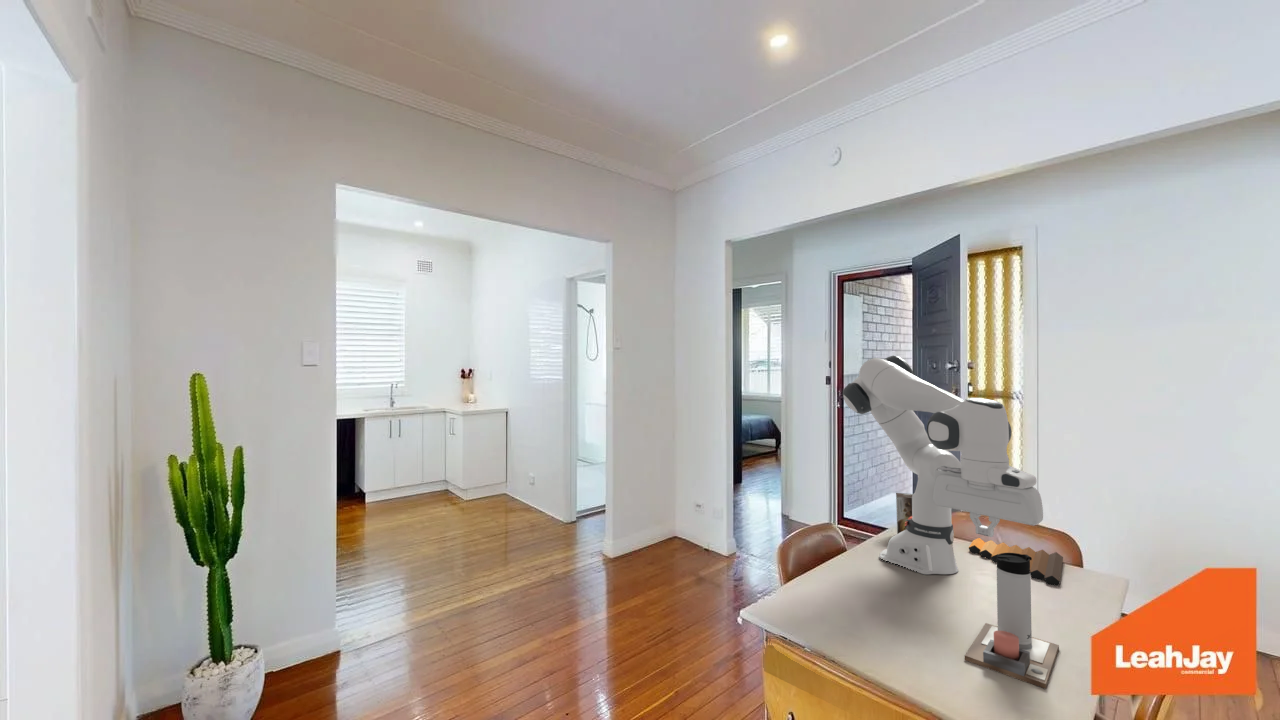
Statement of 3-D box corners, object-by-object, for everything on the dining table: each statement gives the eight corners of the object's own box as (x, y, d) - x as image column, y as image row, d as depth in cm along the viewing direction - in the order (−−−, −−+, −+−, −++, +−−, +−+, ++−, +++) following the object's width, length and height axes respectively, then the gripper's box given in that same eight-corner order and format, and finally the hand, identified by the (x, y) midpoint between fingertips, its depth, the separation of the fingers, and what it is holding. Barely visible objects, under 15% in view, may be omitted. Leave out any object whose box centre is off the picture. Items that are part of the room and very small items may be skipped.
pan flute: (1060, 588, 146) (1063, 563, 165) (1059, 577, 146) (1063, 553, 165) (960, 566, 163) (973, 545, 181) (960, 556, 163) (973, 536, 181)
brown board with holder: (964, 660, 110) (964, 645, 110) (985, 626, 124) (985, 613, 124) (1045, 689, 100) (1045, 672, 100) (1058, 649, 114) (1058, 635, 114)
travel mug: (1039, 651, 111) (1038, 561, 111) (1006, 648, 112) (1004, 558, 112) (1024, 636, 117) (1022, 551, 117) (992, 633, 118) (991, 549, 119)
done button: (991, 654, 107) (991, 635, 107) (996, 646, 110) (996, 628, 110) (1017, 663, 104) (1016, 643, 104) (1021, 654, 107) (1020, 635, 107)
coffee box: (923, 537, 190) (922, 494, 190) (925, 542, 184) (924, 498, 184) (896, 533, 193) (895, 492, 194) (897, 539, 187) (896, 496, 188)
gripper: (928, 465, 117) (928, 525, 117) (1035, 482, 100) (1035, 551, 100) (940, 463, 120) (940, 520, 120) (1045, 478, 104) (1046, 545, 104)
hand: (984, 535), depth 110 cm, fingers closed
